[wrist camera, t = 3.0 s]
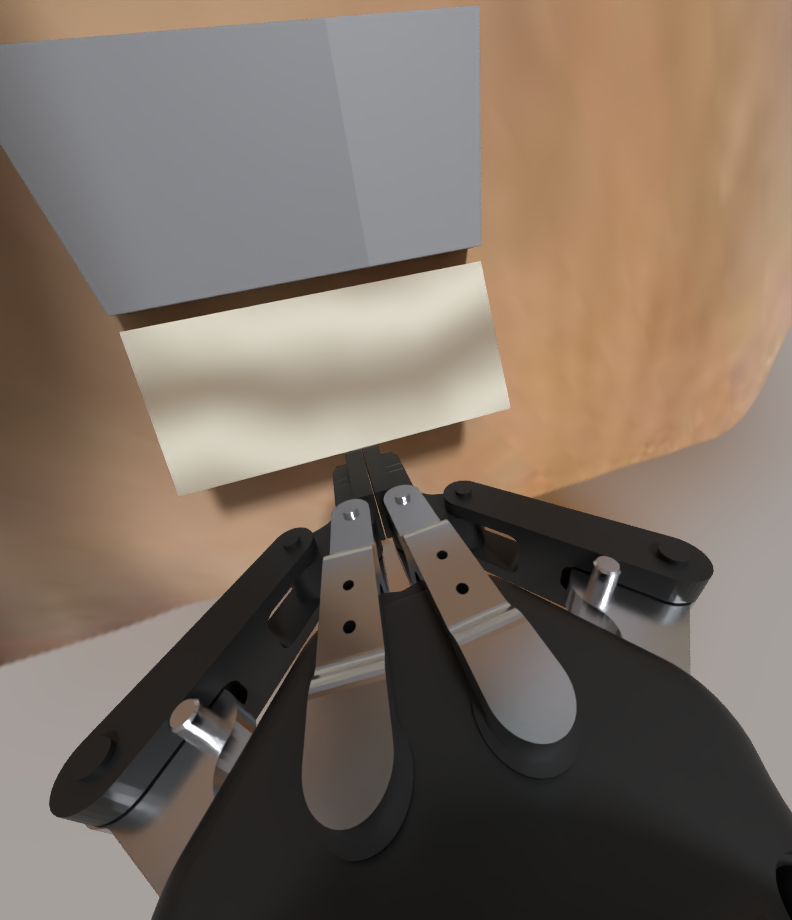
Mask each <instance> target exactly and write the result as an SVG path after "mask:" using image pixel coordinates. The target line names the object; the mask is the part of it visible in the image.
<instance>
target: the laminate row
mask: <svg viewBox="0 0 792 920" xmlns="http://www.w3.org/2000/svg"><path fill="white" fill-rule="evenodd" d="M0 145H1V146H2V148H3V150H4V151H5V153H6V154H7V156H8V158H9V159H10V161H11V162H12V164H13V166H14V167H15V169H16V170H17V172H18V173H19V175H20V177H21V178H22V180H23V181H24V183H25V185H26V186H27V188H28V189H29V191H30V193H31V194H32V196H33V197H34V199H35V201H36V202H37V204H38V205H39V207H40V208H41V210H42V212H43V213H44V215H45V216H46V218H47V220H48V221H49V223H50V224H51V226H52V228H53V229H54V231H55V232H56V234H57V236H58V237H59V239H60V240H61V242H62V243H63V245H64V247H65V248H66V250H67V251H68V253H69V255H70V256H71V258H72V259H73V261H74V263H75V264H76V266H77V267H78V269H79V271H80V272H81V274H82V275H83V277H84V278H85V280H86V282H87V283H88V285H89V286H90V288H91V290H92V291H93V293H94V294H95V296H96V298H97V299H98V301H99V302H100V304H101V306H102V307H103V309H104V310H105V312H106V313H107V315H108V316H112V315H121V314H128V313H133V312H139V311H144V310H149V309H155V308H160V307H165V306H170V305H176V304H181V303H186V302H191V301H197V300H202V299H207V298H212V297H218V296H223V295H228V294H233V293H239V292H244V291H249V290H254V289H260V288H265V287H270V286H275V285H281V284H286V283H291V282H296V281H302V280H307V279H312V278H317V277H323V276H328V275H333V274H338V273H344V272H349V271H354V270H359V269H365V268H370V267H375V266H381V265H386V264H391V263H396V262H402V261H407V260H412V259H417V258H423V257H428V256H433V255H438V254H444V253H449V252H454V251H459V250H465V249H469V248H473V247H476V246H480V245H481V154H480V5H475V6H463V7H451V8H439V9H426V10H414V11H402V12H390V13H377V14H365V15H353V16H341V17H328V18H316V19H304V20H292V21H279V22H267V23H255V24H242V25H230V26H218V27H206V28H193V29H181V30H169V31H157V32H144V33H132V34H120V35H108V36H95V37H83V38H71V39H59V40H46V41H34V42H22V43H10V44H0Z"/></svg>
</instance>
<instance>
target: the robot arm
mask: <svg viewBox="0 0 792 920" xmlns="http://www.w3.org/2000/svg"><path fill="white" fill-rule="evenodd" d="M362 452H363V455H364V459H365V463H366V467H367V470H368V473H367V470H366V467H365V463H364V460H363V456H362V453H361V449H360V450H356V451H353V452H349V453H345V455H346V461H347V464H345V465H342V466H338V467H336V469H335V471H334V473H333V484H334V494H335V505H336V508H335V509H334V510H333V512H332V515H331V521H330V522H329V523H328V524H327V525H325V526H324V527H322V528H321V529H319V530H317V531H315V532H313V533H312V532H311V531H310V530H309V529H307V528H294V529H291V530H289V531H287V532H285V533H283V534H282V535H281V536H279V537H278V538H277V539H276V540H275V541H274V542H273V543H272V544H271V545H270V546H269V547H268V549H267V550H266V551H265V552H264V553H263V554H262V555H261V556H260V557H259V558H258V559H257V560H256V561H255V562H254V563H253V564H252V565H251V566H250V567H249V568H248V569H247V570H246V572H245V573H244V574H243V575H242V576H241V577H240V578H239V579H238V580H237V581H236V582H235V583H234V584H233V585H232V586H231V587H230V588H229V589H228V590H227V591H226V592H225V593H224V594H223V596H222V597H221V598H220V599H219V600H218V601H217V602H216V603H215V604H214V605H213V606H212V607H211V608H210V609H209V610H208V611H207V612H206V613H205V614H204V615H203V616H202V618H201V619H200V620H199V621H198V622H197V623H196V624H195V625H194V626H193V627H192V628H191V629H190V630H189V631H188V632H187V633H186V634H185V635H184V636H183V637H182V638H181V640H180V641H179V642H178V643H177V644H176V645H175V646H174V647H173V648H172V649H171V650H170V651H169V652H168V653H167V654H166V655H165V656H164V657H163V658H162V659H161V660H160V661H159V663H157V665H156V666H155V667H154V668H153V669H152V670H151V671H150V672H149V673H148V674H147V675H146V676H145V677H144V678H143V679H142V680H141V681H140V682H139V683H138V684H137V685H136V686H135V687H134V688H133V690H132V691H131V692H130V693H129V694H128V695H127V696H126V697H125V698H124V699H123V700H122V701H121V702H120V703H119V704H118V705H117V706H116V707H115V708H114V709H113V711H111V712H110V714H109V715H108V716H107V717H106V718H105V719H104V720H103V721H102V722H101V723H100V724H99V725H98V726H97V727H96V728H95V729H94V730H93V731H92V732H91V733H90V735H89V736H88V737H87V738H86V739H85V740H84V741H83V742H82V743H81V744H80V745H79V746H78V747H77V748H76V750H75V751H74V752H73V753H72V755H71V756H70V757H69V759H68V760H67V762H66V763H65V764H64V766H63V768H62V769H61V771H60V773H59V774H58V776H57V778H56V780H55V783H54V785H53V788H52V791H51V795H50V802H49V806H50V810H51V812H52V813H53V814H54V815H55V816H56V817H60V818H63V819H67V820H71V821H75V822H79V823H83V824H85V825H86V826H87V827H88V828H90V829H92V830H97V831H100V832H104V833H109V834H113V835H114V836H115V838H116V839H117V840H118V842H119V843H120V844H121V846H122V847H123V848H124V850H125V851H126V852H127V854H128V855H129V856H130V858H131V859H132V861H133V862H134V863H135V865H136V866H137V867H138V869H139V870H140V871H141V872H142V874H143V875H144V877H145V878H146V879H147V881H148V882H149V883H150V885H151V886H152V887H153V889H154V890H155V891H156V893H157V894H158V895H159V897H160V898H159V901H158V903H157V906H156V908H155V911H154V914H153V916H152V919H151V920H792V812H791V811H790V809H789V808H788V806H787V805H786V803H785V802H784V800H783V798H782V797H781V795H780V793H779V792H778V790H777V788H776V787H775V785H774V783H773V782H772V780H771V778H770V776H769V774H768V772H767V771H766V769H765V767H764V765H763V763H762V761H761V759H760V757H759V755H758V753H757V751H756V750H755V748H754V746H753V744H752V742H751V740H750V739H749V737H748V736H747V734H746V733H745V731H744V730H743V728H742V727H741V725H740V724H739V723H738V722H737V720H736V719H735V718H734V717H733V715H732V714H731V713H730V712H729V710H728V709H727V708H726V707H725V706H724V705H723V704H722V703H721V702H720V701H719V700H718V698H716V696H714V694H712V693H711V692H710V691H709V690H708V689H707V688H706V687H705V686H704V685H702V684H701V683H700V682H699V681H697V680H696V679H695V678H693V677H692V676H691V675H690V609H691V608H692V606H693V605H694V603H695V602H696V600H697V598H698V597H699V595H700V593H701V592H702V590H703V589H704V587H705V586H706V584H707V582H708V580H709V579H710V578H711V576H712V575H713V565H712V563H711V561H710V560H709V559H708V557H707V556H706V555H705V554H704V553H703V552H702V551H700V550H699V549H697V548H696V547H694V546H693V545H691V544H689V543H687V542H685V541H682V540H680V539H677V538H674V537H670V536H666V535H663V534H659V533H656V532H652V531H649V530H645V529H641V528H638V527H634V526H630V525H627V524H623V523H620V522H616V521H612V520H609V519H605V518H602V517H598V516H594V515H591V514H587V513H583V512H580V511H576V510H573V509H569V508H566V507H561V506H558V505H555V504H551V503H547V502H544V501H540V500H537V499H533V498H529V497H526V496H522V495H519V494H515V493H511V492H508V491H504V490H500V489H497V488H493V487H490V486H486V485H482V484H479V483H475V482H471V481H457V482H454V483H451V484H450V485H448V486H447V487H446V488H445V490H444V494H435V495H430V494H424V493H421V492H420V490H419V489H418V488H416V487H415V486H413V485H412V483H411V481H410V479H409V477H408V475H407V473H406V471H405V469H404V467H403V465H402V463H401V461H400V459H399V457H398V456H397V455H395V454H393V453H392V452H389V453H385V454H382V455H381V453H380V451H379V448H378V446H377V445H375V446H371V447H367V448H364V449H362ZM368 474H369V477H368ZM369 478H370V480H369ZM370 481H371V484H370ZM371 485H372V487H371ZM372 488H373V491H372ZM373 492H374V494H373ZM374 495H375V498H374ZM375 499H376V501H375ZM376 502H377V505H378V509H379V512H380V516H381V519H382V522H383V526H384V529H385V533H386V536H387V538H391V537H392V538H393V541H394V544H395V548H396V551H397V555H398V557H399V559H400V562H401V564H402V566H403V569H404V571H405V574H406V576H407V578H408V580H409V583H410V585H411V586H410V587H409V588H407V589H405V590H403V591H401V592H391V593H389V586H388V580H387V574H386V569H385V562H384V556H383V546H382V543H381V540H385V539H386V538H385V535H384V531H383V527H382V524H381V520H380V516H379V513H378V509H377V505H376ZM484 526H485V527H488V528H490V529H493V530H496V531H499V532H501V533H504V534H507V535H509V536H511V537H513V538H514V539H515V540H516V541H517V542H516V541H513V540H511V539H508V538H505V537H503V536H500V535H497V534H495V533H492V532H489V531H487V530H485V529H484ZM485 571H487V572H489V573H491V574H494V575H496V576H498V577H496V576H492V575H488V574H487V573H486V572H485ZM499 577H500V578H499ZM501 578H502V579H501ZM506 580H507V581H506ZM508 581H509V582H508ZM510 582H511V583H510ZM512 583H513V584H512ZM514 584H515V585H514ZM516 585H517V586H516ZM518 586H520V587H522V588H524V589H526V590H528V591H531V592H533V593H535V594H537V595H539V596H541V597H544V598H546V599H548V600H550V601H552V602H555V603H557V604H559V605H561V606H563V607H565V608H567V610H565V609H563V608H560V607H559V606H557V605H554V604H553V603H551V602H549V601H546V600H544V599H542V598H540V597H538V596H536V595H534V594H532V593H530V592H528V591H526V590H524V589H522V588H520V587H518ZM291 587H292V590H291V592H290V593H289V594H288V596H287V597H286V598H285V600H284V601H283V602H282V603H281V605H280V606H279V607H278V609H277V610H276V611H275V613H274V614H273V615H272V617H271V618H270V619H269V616H270V614H271V612H272V611H273V609H274V608H275V607H276V606H277V604H278V603H279V602H280V600H281V599H282V598H283V596H284V595H285V594H286V593H287V592H288V590H289V589H290V588H291ZM268 619H269V620H268ZM318 621H319V625H318V631H317V632H316V633H315V634H314V635H313V636H312V637H311V638H310V640H309V641H308V643H307V644H306V645H305V647H304V648H303V650H302V651H301V653H300V655H299V656H298V658H297V660H296V661H295V663H294V665H293V666H292V668H291V670H290V672H289V673H288V675H287V676H286V678H285V680H284V682H283V683H282V685H281V687H280V688H279V690H278V692H277V693H276V695H275V697H274V698H273V700H272V702H271V703H270V705H269V707H268V709H267V710H266V712H265V714H264V715H263V717H262V719H261V720H260V722H259V724H258V725H257V727H256V719H257V717H258V716H259V714H260V712H261V711H262V709H263V708H264V706H265V705H266V703H267V701H268V700H269V698H270V697H271V695H272V694H273V692H274V690H275V689H276V687H277V686H278V684H279V683H280V681H281V679H282V678H283V676H284V674H285V673H286V672H287V670H288V668H289V667H290V665H291V664H292V662H293V661H294V659H295V657H296V655H297V654H298V653H299V651H300V649H301V648H302V646H303V645H304V643H305V642H306V640H307V638H308V637H309V635H310V634H311V632H312V631H313V629H314V627H315V626H316V624H317V623H318Z"/></svg>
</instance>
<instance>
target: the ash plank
mask: <svg viewBox="0 0 792 920" xmlns="http://www.w3.org/2000/svg"><path fill="white" fill-rule="evenodd" d="M119 333H120V336H121V338H122V341H123V344H124V347H125V349H126V352H127V355H128V358H129V360H130V363H131V366H132V369H133V371H134V374H135V377H136V380H137V383H138V385H139V388H140V391H141V394H142V396H143V399H144V402H145V405H146V407H147V410H148V413H149V416H150V418H151V421H152V424H153V427H154V429H155V432H156V435H157V438H158V440H159V443H160V446H161V449H162V451H163V454H164V457H165V460H166V462H167V465H168V468H169V471H170V474H171V476H172V479H173V482H174V485H175V487H176V490H177V493H178V496H179V497H180V496H183V495H187V494H191V493H195V492H198V491H202V490H206V489H210V488H213V487H217V486H221V485H225V484H228V483H232V482H236V481H240V480H243V479H247V478H251V477H255V476H258V475H262V474H266V473H270V472H273V471H277V470H281V469H285V468H288V467H292V466H296V465H300V464H303V463H307V462H311V461H315V460H318V459H322V458H326V457H330V456H333V455H337V454H341V453H345V452H348V451H352V450H356V449H360V448H363V447H367V446H371V445H375V444H378V443H382V442H386V441H390V440H393V439H397V438H401V437H405V436H408V435H412V434H416V433H420V432H423V431H427V430H431V429H435V428H438V427H442V426H446V425H450V424H453V423H457V422H461V421H465V420H468V419H472V418H476V417H480V416H483V415H487V414H491V413H495V412H498V411H502V410H506V409H510V403H509V398H508V393H507V389H506V384H505V379H504V374H503V369H502V364H501V359H500V354H499V349H498V344H497V339H496V334H495V330H494V325H493V320H492V315H491V310H490V305H489V300H488V295H487V290H486V285H485V280H484V276H483V271H482V266H481V261H478V262H473V263H468V264H463V265H458V266H453V267H448V268H443V269H438V270H433V271H428V272H422V273H417V274H412V275H407V276H402V277H397V278H392V279H387V280H382V281H377V282H372V283H367V284H361V285H356V286H351V287H346V288H341V289H336V290H331V291H326V292H321V293H316V294H311V295H306V296H301V297H295V298H290V299H285V300H280V301H275V302H270V303H265V304H260V305H255V306H250V307H245V308H240V309H234V310H229V311H224V312H219V313H214V314H209V315H204V316H199V317H194V318H189V319H184V320H179V321H174V322H168V323H163V324H158V325H153V326H148V327H143V328H138V329H133V330H128V331H123V332H119Z"/></svg>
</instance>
